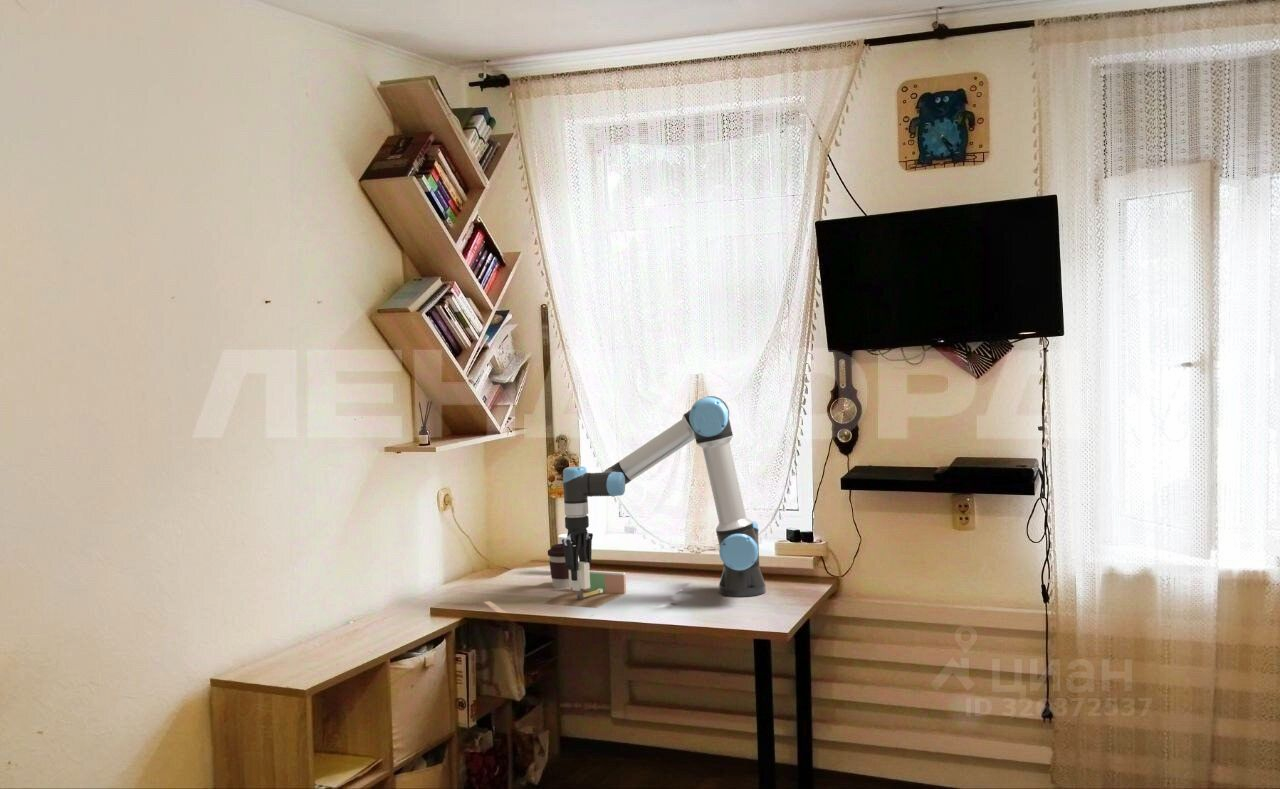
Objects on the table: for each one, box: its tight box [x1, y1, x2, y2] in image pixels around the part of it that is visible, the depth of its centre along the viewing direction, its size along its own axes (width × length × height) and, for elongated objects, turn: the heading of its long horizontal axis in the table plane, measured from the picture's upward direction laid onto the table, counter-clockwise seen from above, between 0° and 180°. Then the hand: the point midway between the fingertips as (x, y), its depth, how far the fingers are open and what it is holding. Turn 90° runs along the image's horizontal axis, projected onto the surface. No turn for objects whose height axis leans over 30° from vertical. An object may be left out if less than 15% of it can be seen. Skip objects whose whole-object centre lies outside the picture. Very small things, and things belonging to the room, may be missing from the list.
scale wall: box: [570, 570, 627, 595], centre depth 334 cm, size 20×1×7 cm, turn 64°
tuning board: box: [539, 589, 624, 609], centre depth 325 cm, size 20×21×1 cm
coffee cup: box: [547, 543, 570, 589], centre depth 345 cm, size 10×10×15 cm
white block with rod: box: [568, 561, 603, 601], centre depth 326 cm, size 11×7×12 cm, turn 139°
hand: (579, 589), depth 323 cm, fingers closed on white block with rod, 3 cm apart
